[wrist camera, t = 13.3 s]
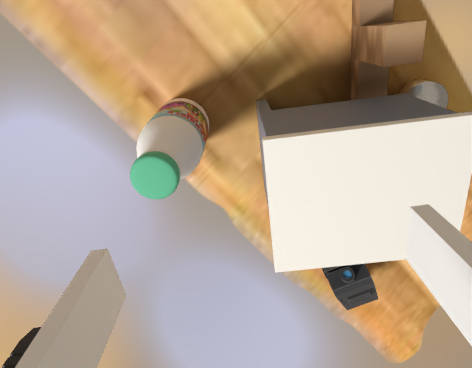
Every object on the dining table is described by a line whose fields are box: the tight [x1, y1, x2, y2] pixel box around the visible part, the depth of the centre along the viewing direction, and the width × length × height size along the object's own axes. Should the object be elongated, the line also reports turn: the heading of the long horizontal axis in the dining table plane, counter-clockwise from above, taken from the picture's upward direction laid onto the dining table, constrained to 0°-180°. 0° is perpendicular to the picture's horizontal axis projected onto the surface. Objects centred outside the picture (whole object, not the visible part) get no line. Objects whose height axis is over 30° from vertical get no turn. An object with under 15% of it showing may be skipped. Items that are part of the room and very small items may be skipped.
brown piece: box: [350, 0, 427, 100], centre depth 41 cm, size 22×4×11 cm, turn 7°
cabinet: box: [256, 93, 472, 272], centre depth 41 cm, size 15×19×20 cm
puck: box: [398, 79, 448, 108], centre depth 46 cm, size 6×6×3 cm
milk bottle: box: [130, 98, 209, 199], centre depth 40 cm, size 8×8×20 cm
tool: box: [322, 263, 378, 310], centre depth 54 cm, size 6×19×15 cm, turn 28°
